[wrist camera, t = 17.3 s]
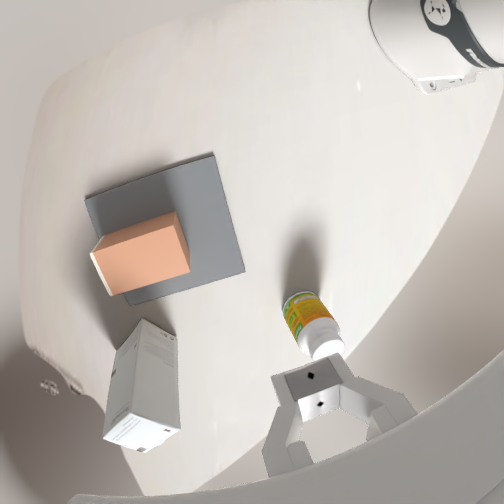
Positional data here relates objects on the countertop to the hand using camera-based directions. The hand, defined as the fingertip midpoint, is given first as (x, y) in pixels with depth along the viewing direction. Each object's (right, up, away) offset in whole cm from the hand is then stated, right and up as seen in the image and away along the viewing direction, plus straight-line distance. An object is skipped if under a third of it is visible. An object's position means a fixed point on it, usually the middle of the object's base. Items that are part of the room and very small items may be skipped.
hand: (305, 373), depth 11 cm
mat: (-12, +7, +20) cm, 24 cm away
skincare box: (-17, -8, +25) cm, 32 cm away
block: (-9, +6, +18) cm, 21 cm away
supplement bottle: (+4, -2, +28) cm, 28 cm away
